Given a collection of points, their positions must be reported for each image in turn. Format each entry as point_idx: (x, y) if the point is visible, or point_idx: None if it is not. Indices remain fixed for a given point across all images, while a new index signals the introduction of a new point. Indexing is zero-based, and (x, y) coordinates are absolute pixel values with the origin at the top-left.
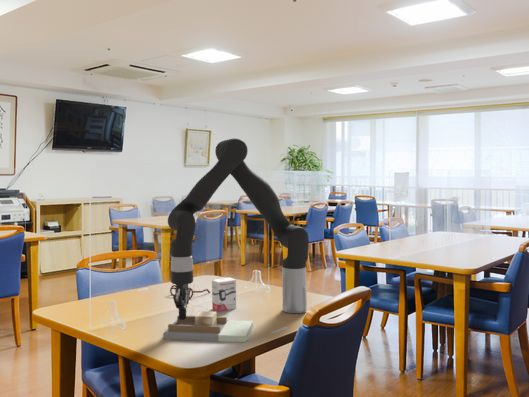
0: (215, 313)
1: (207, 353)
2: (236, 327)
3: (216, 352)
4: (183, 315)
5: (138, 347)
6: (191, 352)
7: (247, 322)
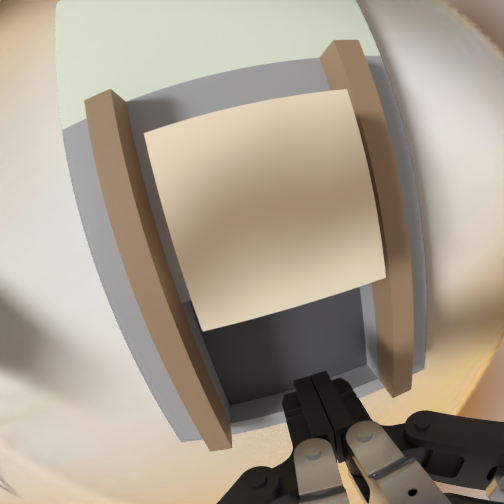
0: (198, 117)
1: (481, 86)
2: (194, 4)
3: (462, 54)
4: (349, 390)
5: (476, 363)
6: (495, 151)
7: (80, 9)
